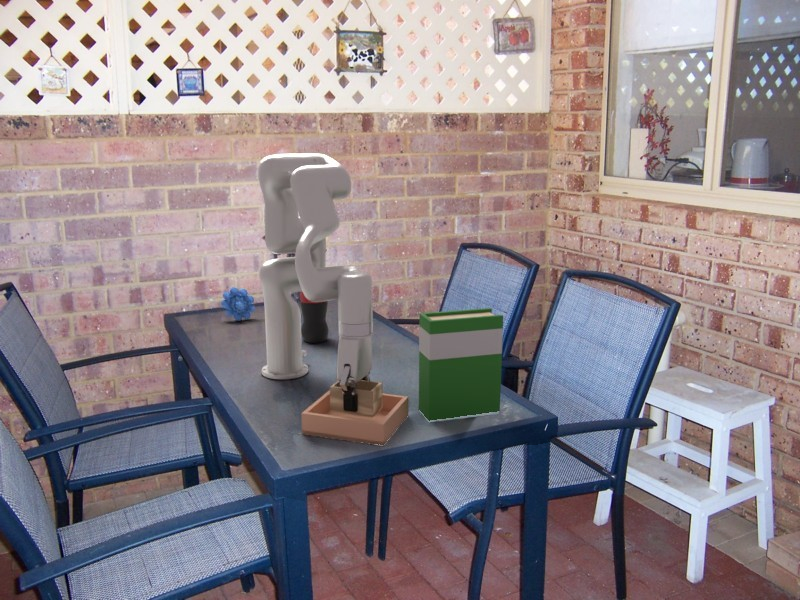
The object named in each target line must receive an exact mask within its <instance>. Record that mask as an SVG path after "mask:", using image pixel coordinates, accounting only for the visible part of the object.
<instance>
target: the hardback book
mask: <svg viewBox="0 0 800 600" xmlns="http://www.w3.org/2000/svg"><path fill="white" fill-rule="evenodd" d="M492 310H493V309H492V307H486V308H472V309H471V308H470V309H459V310H458V309H457V310H445V311H444V310H443V311H432V312H420V313H419V320H418V321H419V324H418V325H419V326H418V327H419V328H418V329H419V332H418V335H419V336H418V337H419V338H418V339H419V341H418V348H419V349H418V357H419V358H418V411H419V410H420V411H421V412H422V413H423V414H424V416H425V417H426V418H427V419H428V420H429V421H430V420H437V419H446V418H454V417H460V416H467V415H476V414H482V413H489V412H497V411H500V412H501V392H502V391H501V388H502V387H501V385H502V364H503V363H502V362H503V361H502V359H503V339H504V338H503V334H504V333H503V332H504V315H503V314H494V313H492V312H493V311H492ZM424 416H423V417H424Z"/></svg>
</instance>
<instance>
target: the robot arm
mask: <svg viewBox="0 0 800 600" xmlns="http://www.w3.org/2000/svg"><path fill="white" fill-rule="evenodd" d="M257 170H258V171H257V173H258V181H259V187H260V190H261V193H262V196H263V201H264V238H265V239H264V240H265V247H266V248H267V249H266V250H268V251H269V253H272V254H274V255H287V254H294V256H288V257H278V258H271V259H269V260H266V261H264V262H263V263H262V264H261V266H260V268H259V282H260V286H261V290H262V291H261V292H262V296H263V304H264V305H263V306H264V321H265V322H264V324H265V345H266V348H265V349H266V365H264V366H262V368H261V375H262V376H264V377H265V378H268V379H272V380H291V379H298V378H301V377H303V376H305V375H306V374H307V373H308V372H309V366H308V364H306V363H305V362H304V363H303V358H304V357H306V356H307V354H308V353H307V350H306V349H303V348H302V347H303V346H302V345H303V344H302V342H303V341H302V339H303V337H302V334H301V328H302V315H301V314H302V310H301V306H300V305H299V304H298V302H297V301H296V300H295V299H294V298H293V297H292V294H296V293H301V292H303V294H304V296H305V297H306V298H307V299H308V300H309V301H311V302H324V301H328V302H329V301H337V318H338V319H337V320H338V323H337V324H338V326H337V327H338V336H339V340H338V346H337V347H338V348H337V360H336V361H337V362H336V365H337V366H336V369H337V370H336V379H337V381H338V380H339V381H340V386H341V388H342V394H343V409H344V410H345V411H351V412H357V411H358V394H356V389H357V382H358V381H360V380H366V381H371V378H370V374H371V371H372V369H373V349H372V348H373V347H372V346H373V345H372V336H373V333H374V332H373V331H374V329H373V328H374V325H373V320H374V319H373V318H374V313H373V312H374V311H373V279H372V276H371V275H370V274H369V273H368V272H365V271H362V270H361V269H360V268H359V267H357V266H356V265H351V264H350V265H348V264H347V265H346V264H345V265H335V266H326V263H327V260H326V259H327V256H326V255H327V252H326V250H327V237H329V236H331V235H332V234H334V233H335V232H336V231H337V230H338V228H339V227H340V222H341V221H340V218H339V215H338V212H337V209H336V206H335V203H334V201H340V200H341V201H342V200H345V199H347V198H348V197H349V196H350V194H351V191H352V180H351V177H350V175H349V172H348V170H347V169H346V168H345V167H344V165H342V164H341V163H340V162H338V161H337V160H335V159H334V158H332V157H330V156H329V155H326V154H324V153H318V152H317V153H277V154H271V155H267V156H265V157H263V158H262V159H261V160H260V163H259V165H258V169H257ZM349 379H354V380H349ZM348 383H353V388H352V387H351V386H349V384H348Z"/></svg>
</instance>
